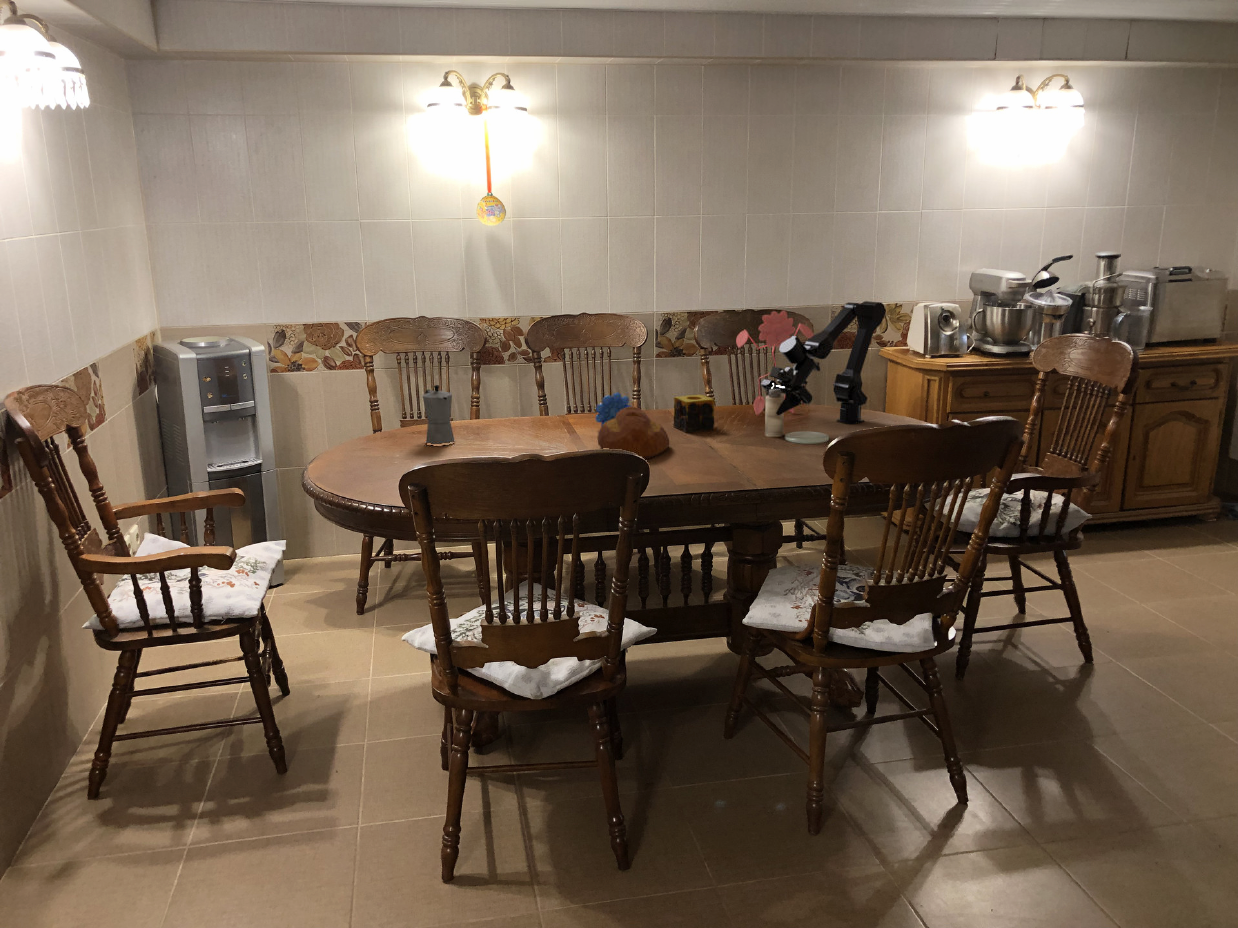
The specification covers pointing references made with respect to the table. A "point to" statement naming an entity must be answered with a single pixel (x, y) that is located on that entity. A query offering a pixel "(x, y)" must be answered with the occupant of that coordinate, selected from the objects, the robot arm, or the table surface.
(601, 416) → the grapes
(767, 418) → the pepper mill
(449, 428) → the coffeepot
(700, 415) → the black and yellow cube
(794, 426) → the table surface
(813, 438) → the pale green coaster
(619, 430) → the bread
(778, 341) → the figurine
